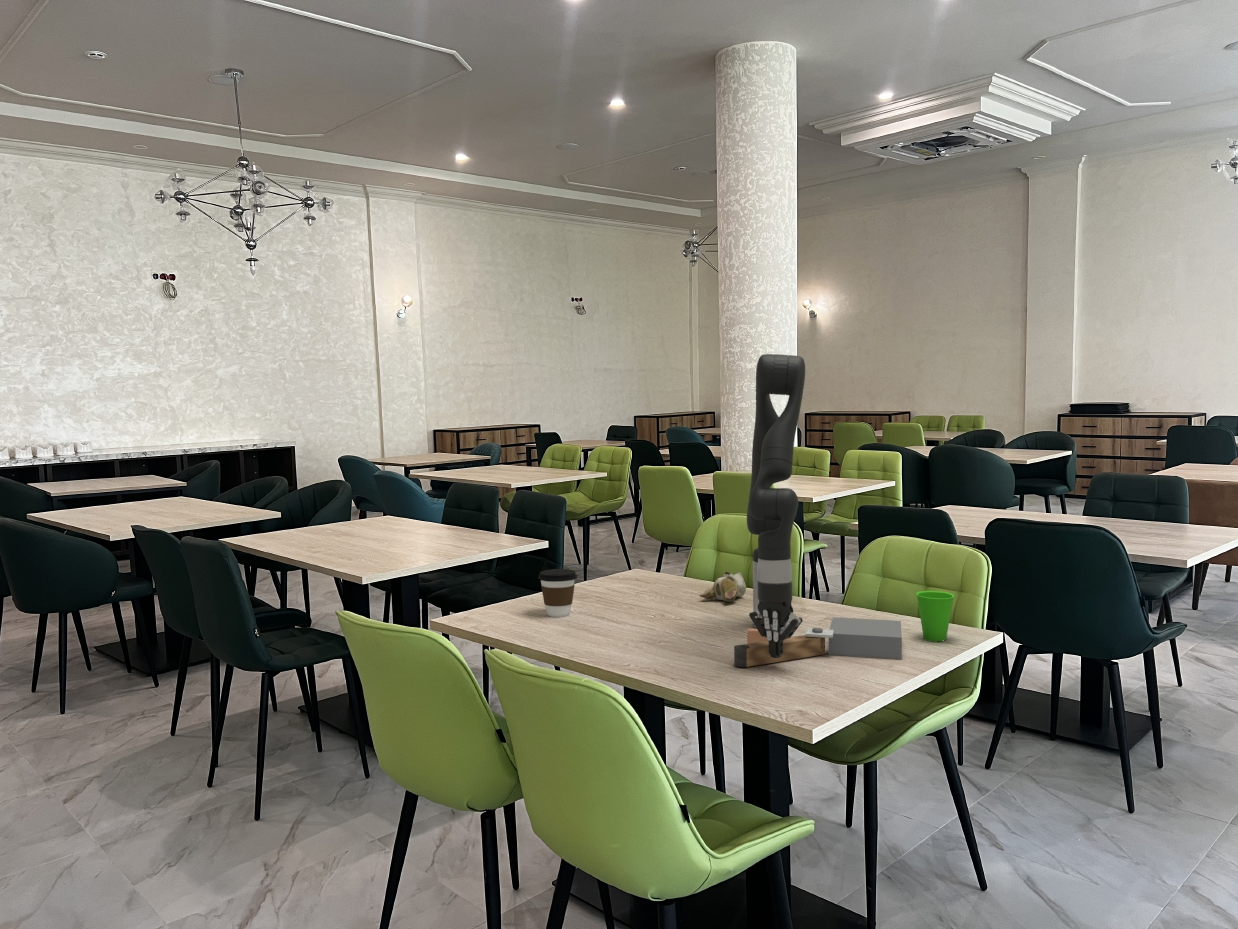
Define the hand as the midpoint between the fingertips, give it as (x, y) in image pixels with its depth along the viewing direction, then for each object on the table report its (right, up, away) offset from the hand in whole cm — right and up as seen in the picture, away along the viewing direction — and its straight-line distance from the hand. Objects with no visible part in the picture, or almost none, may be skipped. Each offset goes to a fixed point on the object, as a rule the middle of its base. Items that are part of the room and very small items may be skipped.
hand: (775, 657), depth 194 cm
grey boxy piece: (+14, -1, +16) cm, 21 cm away
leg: (+2, -2, +5) cm, 6 cm away
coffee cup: (-51, 0, +53) cm, 74 cm away
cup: (+42, 0, +21) cm, 47 cm away
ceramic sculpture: (-2, +2, +68) cm, 68 cm away
